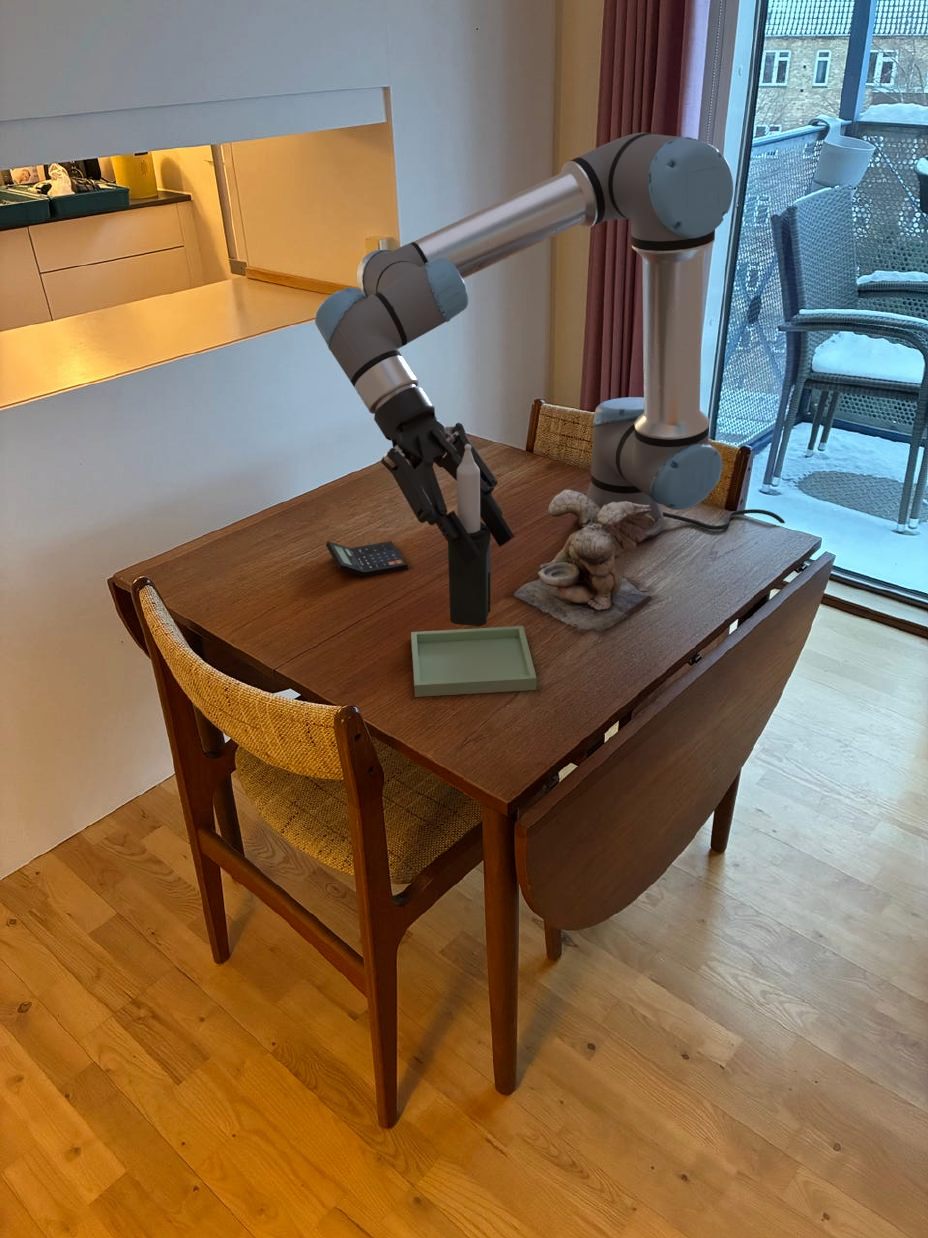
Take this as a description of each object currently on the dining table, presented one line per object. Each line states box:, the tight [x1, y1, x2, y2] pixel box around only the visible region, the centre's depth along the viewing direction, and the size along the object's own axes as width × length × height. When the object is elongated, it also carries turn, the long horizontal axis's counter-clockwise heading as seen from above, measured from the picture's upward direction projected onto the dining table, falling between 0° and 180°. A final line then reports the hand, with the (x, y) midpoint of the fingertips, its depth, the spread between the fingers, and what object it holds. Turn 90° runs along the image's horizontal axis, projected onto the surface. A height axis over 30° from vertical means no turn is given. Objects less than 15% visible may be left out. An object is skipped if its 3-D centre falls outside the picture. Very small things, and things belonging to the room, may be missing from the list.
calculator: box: [325, 540, 409, 578], centre depth 163 cm, size 9×12×3 cm
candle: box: [447, 444, 491, 627], centre depth 126 cm, size 5×5×25 cm
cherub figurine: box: [512, 489, 655, 634], centre depth 148 cm, size 18×18×18 cm
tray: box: [410, 625, 538, 698], centre depth 136 cm, size 17×14×2 cm
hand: (490, 550), depth 124 cm, fingers closed on candle, 6 cm apart
